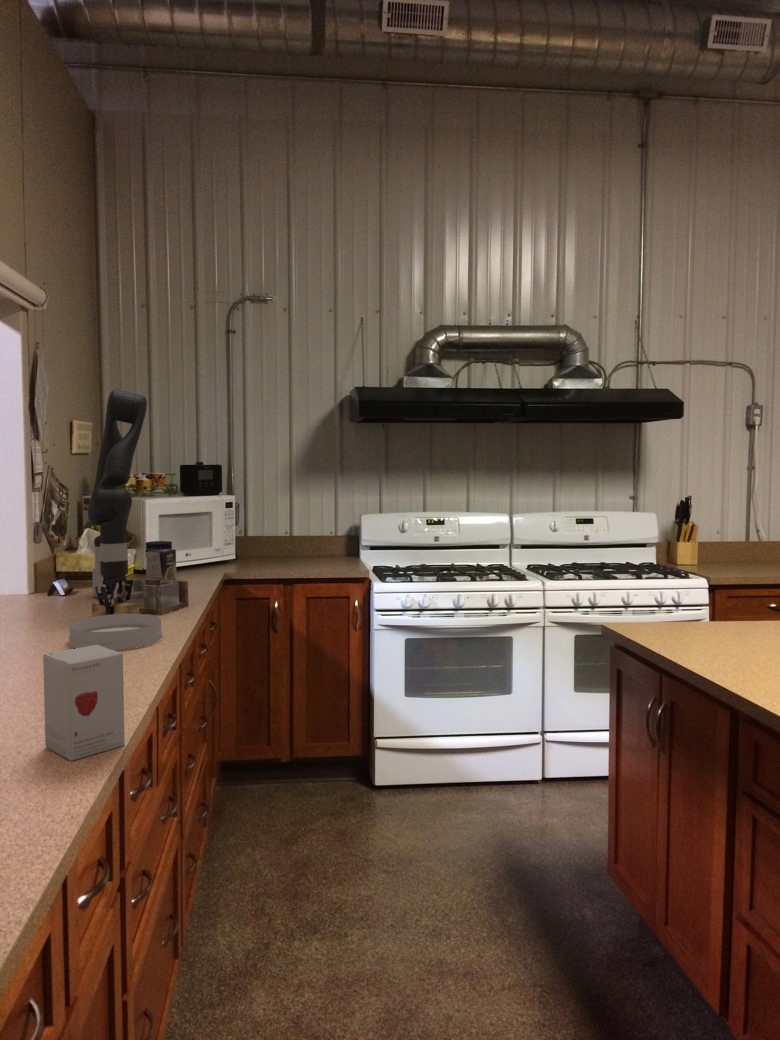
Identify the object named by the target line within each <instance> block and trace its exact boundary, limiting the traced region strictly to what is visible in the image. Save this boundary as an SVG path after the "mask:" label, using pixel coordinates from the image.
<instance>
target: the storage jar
mask: <svg viewBox="0 0 780 1040" xmlns="http://www.w3.org/2000/svg"><path fill="white" fill-rule="evenodd" d="M164 549H173V541H170V540H168V541H167V540H155V541H147V542H145V551H144V552H145V553H146V552H149V551H154V550H164Z"/></svg>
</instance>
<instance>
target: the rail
mask: <svg viewBox="0 0 780 1040" xmlns="http://www.w3.org/2000/svg"><path fill="white" fill-rule="evenodd" d="M113 607H114V614H140V613H139V604H136V603H121V602H114V606H113ZM91 615H92V616H91V617H95V616H102V615H106V608H105V606H102V605H100V604H99V601H97V602H93V603H92V604H91Z"/></svg>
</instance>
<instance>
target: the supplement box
mask: <svg viewBox="0 0 780 1040" xmlns="http://www.w3.org/2000/svg"><path fill="white" fill-rule="evenodd" d="M42 657H43V660H42V662H43V695H44V696H43V697H44V699H43V700H44V704H43V706H44V743H45V744H44V746H45V747H46V749H47V748H48V749H49V750H51V751H53V752H54V753H56V754H58V755H59V756H61V757H63V758H65V759H67V760H69V761H70V762H73V761H76V760H79V759H82V758H86V757H90V756H92V755H96V754H100V753H103V752H106V751H110V750H113V749H117V748H121V747H123V746H125V743H126V742H125V740H126V739H125V707H124V706H125V704H124V703H125V700H124V698H125V697H124V695H125V693H124V692H125V691H124V655H123V652H120V651H114V650H111V649H108V648H105V647H102V646H99V645H92V646H87V647H82V648H75V649H74V648H70V649H65V650H60V651H54V652H48V653H44V654H43V656H42Z"/></svg>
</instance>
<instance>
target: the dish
mask: <svg viewBox="0 0 780 1040" xmlns="http://www.w3.org/2000/svg"><path fill="white" fill-rule="evenodd" d="M161 638H162V639H163V630H162V619H161V617H159V615H158V616H157V615H155V614H142V613H139V614H111V615H102V616H95V617H92V616H91V617H85V618H81V619H78V620H75V621H73V622H71V623H70V624H69V636H68V640H69V641H68V645H70V646H71V647H72V648H71V649H74V648H82V647H87V646H92V645H99V646H102V647H105V648H108V649H111V650H119V651H124V650H123V649H128V650H131V649H130V648H135V649H137V648H136V647H140V646H145V645H148V644H152V643H155V642H157V641H159V640H160V639H161ZM162 639H161V640H162ZM161 640H160V641H161ZM160 641H159V642H160ZM157 643H158V642H157ZM155 644H156V643H155ZM152 645H153V644H152ZM70 646H69V647H70ZM148 646H149V645H148ZM145 647H146V646H145ZM140 648H141V647H140Z"/></svg>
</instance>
